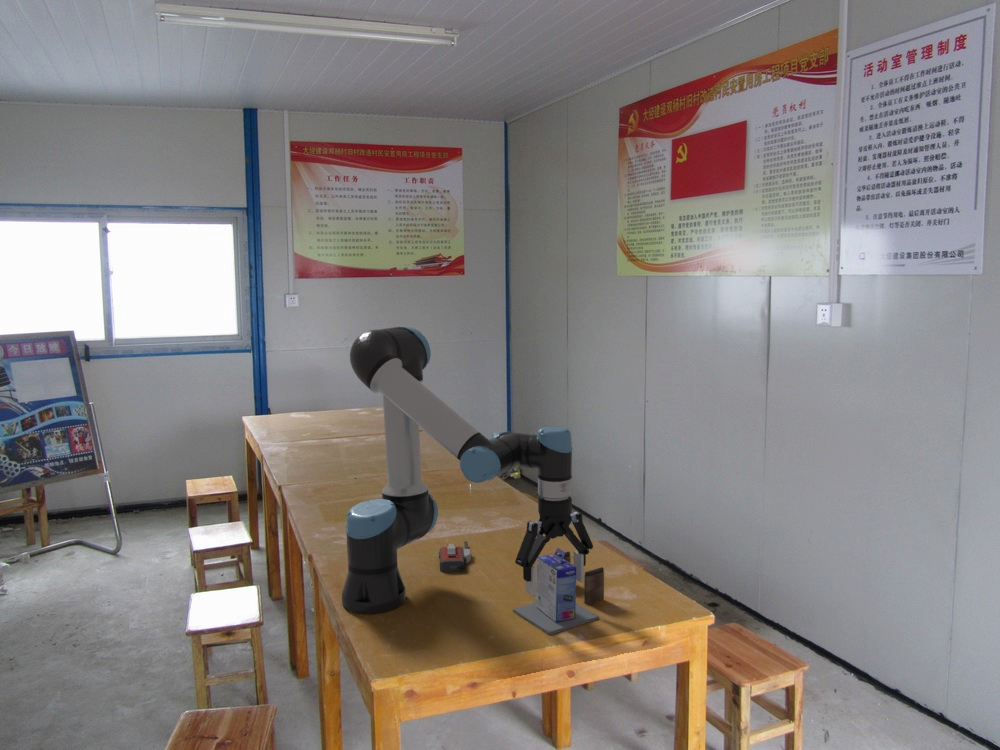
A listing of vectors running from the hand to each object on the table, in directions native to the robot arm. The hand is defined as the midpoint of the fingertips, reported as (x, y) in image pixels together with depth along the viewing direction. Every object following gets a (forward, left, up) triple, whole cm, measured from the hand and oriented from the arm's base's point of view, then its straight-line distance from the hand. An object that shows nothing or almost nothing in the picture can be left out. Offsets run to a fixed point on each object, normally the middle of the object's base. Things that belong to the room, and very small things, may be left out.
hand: (555, 587), depth 174 cm
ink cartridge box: (0, 0, -6) cm, 6 cm away
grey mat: (0, 0, -7) cm, 7 cm away
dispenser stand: (+12, +7, -7) cm, 15 cm away
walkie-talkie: (-1, +44, -7) cm, 44 cm away
